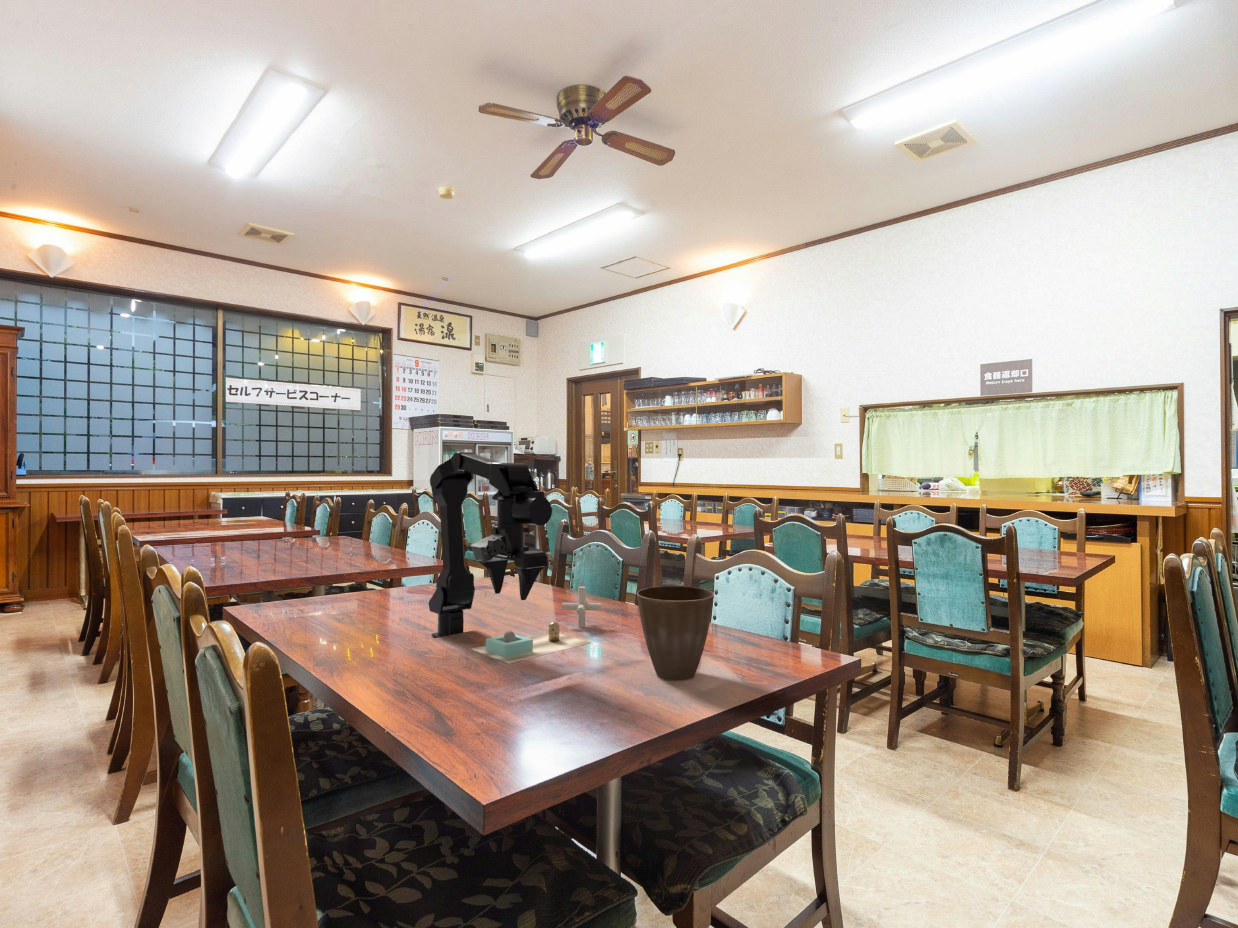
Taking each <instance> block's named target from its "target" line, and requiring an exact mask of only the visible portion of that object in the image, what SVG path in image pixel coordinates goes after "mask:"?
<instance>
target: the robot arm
mask: <svg viewBox="0 0 1238 928" xmlns="http://www.w3.org/2000/svg"><path fill="white" fill-rule="evenodd" d="M474 475H476V476H479V477H481V478H483V479H486V480H488V482H489V483H488V484H489V485H490V486H491V487H493V488H494V489H496V490H497V491H496V492H495V493H494V494H493V495H492V497H491V500H493V501H497V505H496V506H497V507H496V509H497V510H496V511H497V512H496V513H497V515H496V517H497V519H496V522H497V523H496V526H493V527H492V529H491V535H489V536H485V537H484V538H482V539H480V540H477V541H476V542H473V543H472V544H470V547H471V550H472V553H473V557H474V560H476V561H478V563H479V564H481V565H482V566H483V567H485V568H486V570H487V572H488V575H489V578H490V581H491V584H492V588H493V591H494V594H496V595H499V594H501V591H502V589H503V585H504V581H505V580H504V579H505V575H506V571H507V567H508V561H513V563H514V565H515V567H513V570H514V571H515V572H516V574H517V575H518V585H519V597H520V601H526V600H527V598H528V597H529V595H530V593H531V589H532V588H533V586H534V584H535V582H536V580H537V578H538V576H539V575H540V573H541V571H542V570H544V569H545V567H547V566H549V555H548V554H547V552H546V551H542V550H534V549H533V550H529V546H527V545H525V539H526V538H525V537H526V536H525V534H526V533H529V532H530V529H529V526H525V525H530V526H531V525H532V526H544V525H546V524H547V523H549V521H550V520H551V518H552V515H553V508H552V505H551V503H550V501H549V500H548V499H547V498H546V497H545V492H544V491H539V489H538V488H539V487H538V485H537V483H536V482H535V480H534V478H533V475H532V473H531V471H530V469H529V466H528V465H527V464H526V463H524V462H522V463H521V462H500V461H498V460H494V459H491V458H489V457H485V456H482V455H478V454H477V453H474V451H473V452H471V451H470V452H469V451H458V452H455V453H453V454H452V456H451V457H450V458H449V459H448V460H446V461H443V462H442V463H441V464H439V465H437V467H436V468H435V469H434V471H433V473H431V475H430V478H429V485H430V488H431V495H432V497H433V499H434V500H435V502H436V504H437V505H438V506H439V511H440V512H439V514H440V531H441V534H440V535H441V536H440V537H441V550H442V551H441V552H442V555H441V556H442V569H441V571H440V573H439V574H438V577H437V579H436V588H435V591H434V593H433V594H432V596H431V598H430V599H429V601H428V608H429V611H430V612H431V613H434V614H437V632H434V633H431V636H432V637H434V638H436V639H439V638H444V637H450V636H453V635H458V634H464V633H465V631H464V626H465V625H464V621H465V620H464V610H471V609H472V606H473V602H474V599H475V598H474V597H475V593H476V592H475V591H476V588H475V575H474V574H473V572H469V571H468V569H467V568H466V566H465V565H466V564H465V550H464V534H463V533H464V532H463V531H464V530H463V513H462V505H463V503H464V501H465V499H466V498H467V495H468V493H469V492H468V491H469V489H468V486H469V485H470V483H471V482H473V480H474V479H475V476H474Z"/></svg>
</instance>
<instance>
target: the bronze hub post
mask: <svg viewBox="0 0 1238 928" xmlns="http://www.w3.org/2000/svg"><path fill="white" fill-rule="evenodd" d="M548 632H549V642H558V641H559V633H560V624H559V622H556V621H552V622H550V624H548Z"/></svg>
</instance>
